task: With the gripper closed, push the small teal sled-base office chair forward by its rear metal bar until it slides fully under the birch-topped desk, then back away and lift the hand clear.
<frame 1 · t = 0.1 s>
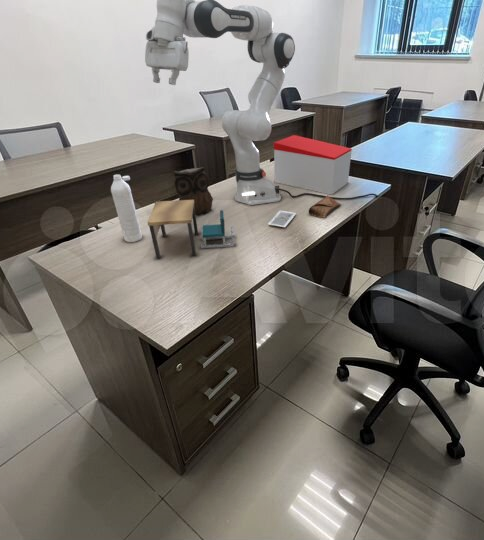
hand: (164, 83, 116), 52 cm above the table, tool tilted 20°, fingers open, 8 cm apart
desk: (178, 245, 128), on the table
chair: (216, 242, 130), on the table
sunglasses case: (325, 210, 157), on the table
red-lidded white box: (310, 182, 188), on the table
owl: (196, 211, 155), on the table
touchpad: (282, 221, 147), on the table
water bottle: (135, 239, 133), on the table
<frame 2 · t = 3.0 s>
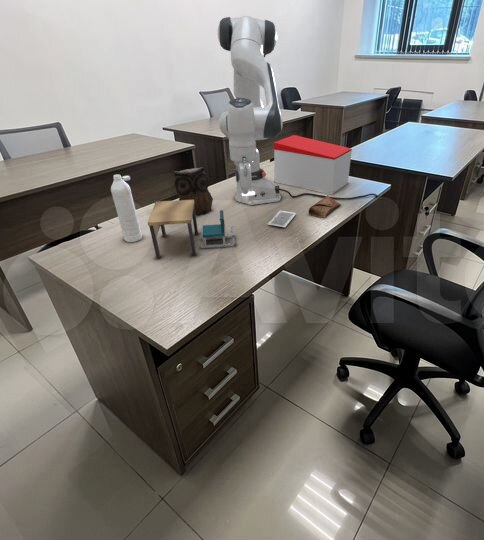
hand: (245, 193, 121), 19 cm above the table, tool pointing down, fingers closed
nothing on the table moved.
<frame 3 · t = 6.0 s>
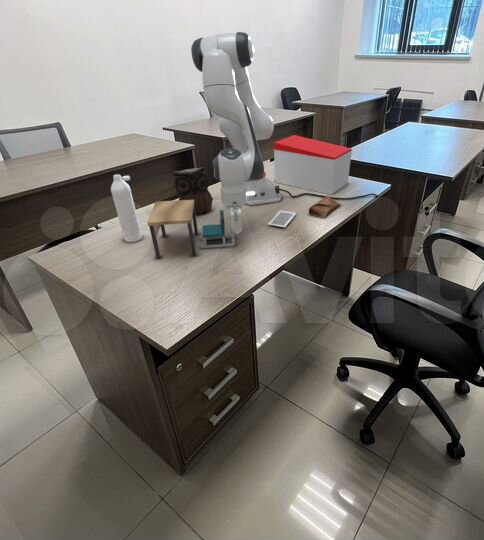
hand: (236, 232, 129), 4 cm above the table, tool pointing down, fingers closed, pressing on chair
chair: (216, 242, 130), on the table, touching gripper
everything else where it was.
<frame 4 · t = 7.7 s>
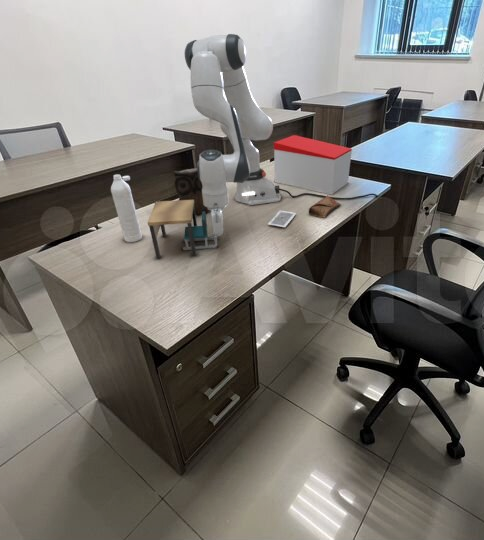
hand: (219, 234, 128), 4 cm above the table, tool pointing down, fingers closed, pressing on chair
chair: (199, 244, 129), on the table, touching gripper
everything else where it was.
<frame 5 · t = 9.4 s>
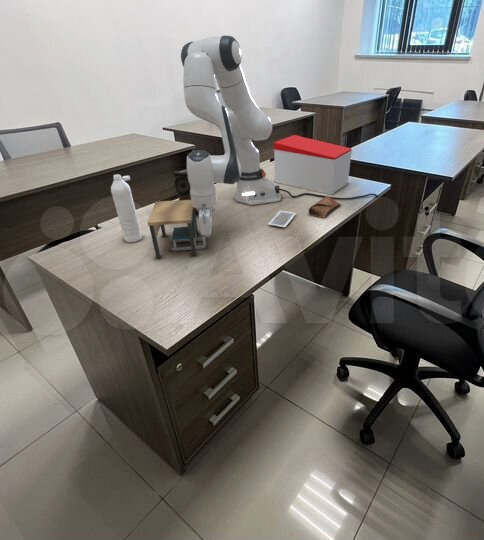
hand: (208, 234, 128), 4 cm above the table, tool pointing down, fingers closed
chair: (187, 244, 129), on the table
everything else where it was.
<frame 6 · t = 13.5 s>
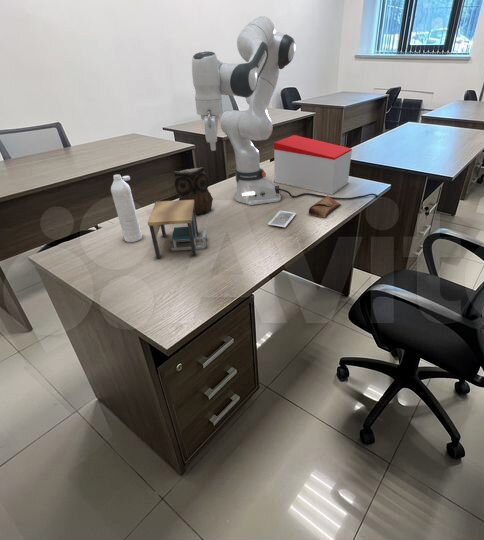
hand: (213, 149, 124), 31 cm above the table, tool pointing down, fingers closed
nothing on the table moved.
at the end: chair 2.3 cm from the target spot on the desk, point 0.0 cm above the desk's base; chair tilted 0°; chair moved 10.7 cm from its start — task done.
